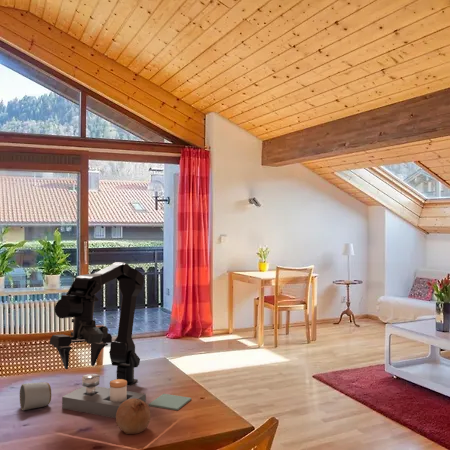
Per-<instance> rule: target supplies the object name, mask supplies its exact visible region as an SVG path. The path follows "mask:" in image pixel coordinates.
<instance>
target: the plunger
mask: <svg viewBox="0 0 450 450" xmlns="http://www.w3.org/2000/svg"><path fill="white" fill-rule="evenodd" d="M81 377H82V378H81V379H82V380H81V383H82V384H81V385H82V386H81V387H83V386H84V387H86V395H90V396H93V395H95V386H99V385H100V379H101V378H100V375H99V374H96V373H88V374H84V375H82V376H81Z"/></svg>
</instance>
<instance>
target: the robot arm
mask: <svg viewBox="0 0 450 450" xmlns="http://www.w3.org/2000/svg"><path fill="white" fill-rule="evenodd" d="M113 280H116V281H118V286H119V287H118V289H119V290H120V293H121V295H122V298H121V306H120V314H119V322H118V329H117V330H118V331H117V336H116V338H115V339H114V341H113V340H112V339H113V336H112V334H111V333H110V332H109V328H108V327H107V326H104V325H101V326H97V324H96V320H95V319H94V311H95V302H99V301H100V300H99V298H98V297H97V296H96V295H97V294H98V293H99V292H100V291H101V290H102V289H103V286H104V285H106V284H107V283H109V282H111V281H113ZM144 282H145V277H144V274H142V272H141V271H139V270H137V269H135V268H134V267H131V266H130V265H129V264H128V263H126V262H119V261H117V262H113V263H112V264H110V265H108V266H107V267H104V268H102V269H100V270H98V271H96V272H94V273H89V274H88V273H87V274H85V273H84V274H80V275H77V276H76V277H75V278H74V281H73V282H72V283H71V285H70V287H69V289H68V290H67V293H66V294H62V295H61V296H60V297H61V298H60V299H59V300H58V301H57V302H56V303H55V306H54V313H55V315H56V317H57V318H59V319H70V318H71V323H73V327H72V331H71V332H70V335H66V334H63V333H61V334H52V336H50V338H49V345H51V346H53V348H56V350H57V352H58V354H59V356H60V358H61V362H62V365H63V367H64V369H65V370H68V368H69V365H70V351H71V350H72V346H71V344H74V343H87V344H89V345H90V365H91V366H92V367H94V366H95V365H96V363H97V360H98V358H99V356H100V354H101V352H102V350H103V349H104V348H105V347H107V346H108V345H109V344H110V349H109V352H108V354H109V358H110V362H111V366H116V379H124V380H126V381H127V386H132V385H133V384H135V383H137V382H138V379H136V378H135V368H138V367H139V366H140V362H141V358H140V357H139V356H138V355H137V353H136V344H135V342H134V340H133V338H132V337H133V328H134V319H135V311H136V303H137V297H138V295H140V293H141V291H142V289H143V287H144Z"/></svg>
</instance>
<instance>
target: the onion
mask: <svg viewBox="0 0 450 450" xmlns="http://www.w3.org/2000/svg"><path fill="white" fill-rule="evenodd" d="M151 416H152V414H151V409H150V406H148V404H147V403H145V402H144V401H142V400H140V399H136V398H132V399H128V400H126V401H124V402H123V403H122V404H121V405H120V406H119V408H118V410H117V413H116V418H115V420H116V421H115V425H116V426H117V427H119V428H120V430H121V431H122V432H123V433H124V434H127V435H132V434H133V435H134V434H135V435H137V434H139V433H142V432H143V431H145V430H146V428H147V427H148V426H149V424H150V422H151V418H152V417H151Z"/></svg>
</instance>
